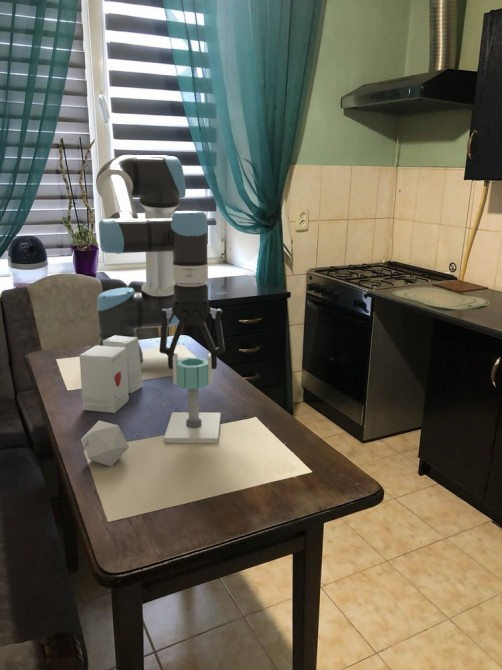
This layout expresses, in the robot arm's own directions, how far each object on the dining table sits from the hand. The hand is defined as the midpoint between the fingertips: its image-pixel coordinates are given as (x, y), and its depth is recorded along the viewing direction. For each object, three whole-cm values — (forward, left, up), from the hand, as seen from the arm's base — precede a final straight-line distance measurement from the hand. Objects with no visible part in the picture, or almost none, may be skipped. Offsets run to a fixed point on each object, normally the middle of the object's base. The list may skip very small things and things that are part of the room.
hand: (193, 381), depth 124 cm
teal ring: (0, 0, 0) cm, 0 cm away
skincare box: (-26, -22, -12) cm, 36 cm away
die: (+15, -17, -12) cm, 26 cm away
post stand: (0, 0, -12) cm, 12 cm away
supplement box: (-14, -24, -12) cm, 31 cm away
